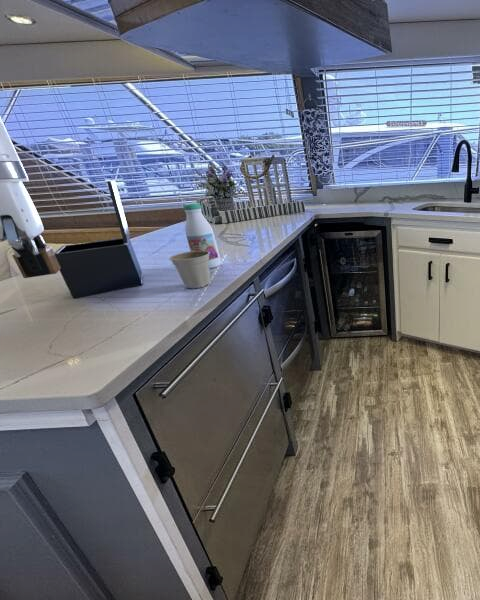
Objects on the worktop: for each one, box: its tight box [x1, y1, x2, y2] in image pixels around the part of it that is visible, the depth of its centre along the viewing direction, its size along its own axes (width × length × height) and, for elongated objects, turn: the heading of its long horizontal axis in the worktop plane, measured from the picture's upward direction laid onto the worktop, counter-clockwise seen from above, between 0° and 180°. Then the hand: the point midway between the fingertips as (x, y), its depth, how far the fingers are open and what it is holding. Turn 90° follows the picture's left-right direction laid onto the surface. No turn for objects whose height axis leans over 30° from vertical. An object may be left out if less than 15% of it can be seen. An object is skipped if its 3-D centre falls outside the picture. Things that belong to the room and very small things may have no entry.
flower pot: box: [168, 251, 212, 289], centre depth 87 cm, size 9×9×9 cm
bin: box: [54, 237, 144, 300], centre depth 89 cm, size 15×13×12 cm
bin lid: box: [106, 180, 131, 243], centre depth 88 cm, size 15×13×1 cm
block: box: [11, 246, 61, 279], centre depth 63 cm, size 4×4×4 cm
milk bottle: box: [182, 202, 222, 269], centre depth 102 cm, size 8×8×20 cm
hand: (42, 271), depth 64 cm, fingers closed on block, 4 cm apart
